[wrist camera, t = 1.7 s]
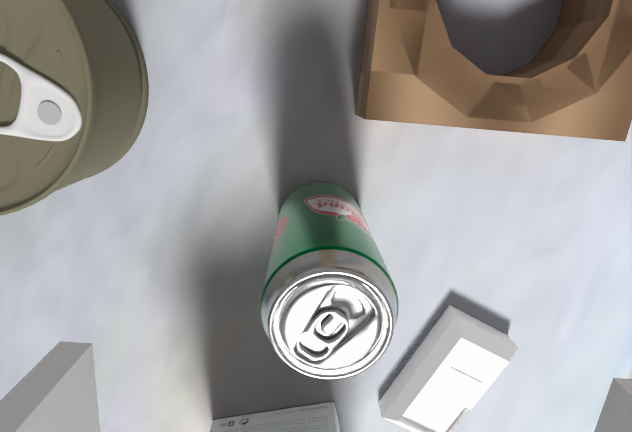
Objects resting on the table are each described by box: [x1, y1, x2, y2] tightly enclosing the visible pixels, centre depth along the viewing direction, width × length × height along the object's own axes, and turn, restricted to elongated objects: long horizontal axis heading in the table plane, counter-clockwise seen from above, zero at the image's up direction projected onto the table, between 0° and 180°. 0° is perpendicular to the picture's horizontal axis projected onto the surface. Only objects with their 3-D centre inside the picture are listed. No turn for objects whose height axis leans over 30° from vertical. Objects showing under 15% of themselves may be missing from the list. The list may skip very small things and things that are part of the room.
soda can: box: [260, 182, 398, 380], centre depth 19 cm, size 5×5×12 cm
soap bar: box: [378, 305, 518, 432], centre depth 28 cm, size 5×9×3 cm, turn 151°
